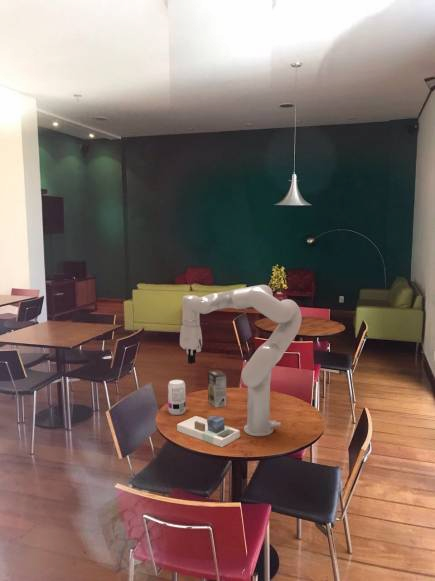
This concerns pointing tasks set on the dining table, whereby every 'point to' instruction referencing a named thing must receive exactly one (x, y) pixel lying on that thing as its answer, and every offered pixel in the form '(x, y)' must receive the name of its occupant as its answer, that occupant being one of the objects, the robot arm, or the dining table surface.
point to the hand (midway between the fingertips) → (191, 363)
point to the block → (216, 424)
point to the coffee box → (217, 388)
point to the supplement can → (176, 397)
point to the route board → (207, 431)
